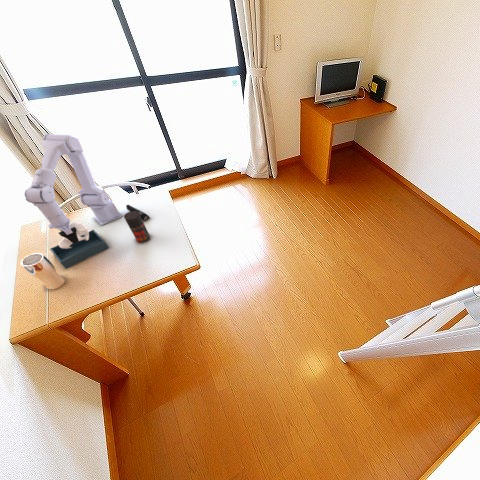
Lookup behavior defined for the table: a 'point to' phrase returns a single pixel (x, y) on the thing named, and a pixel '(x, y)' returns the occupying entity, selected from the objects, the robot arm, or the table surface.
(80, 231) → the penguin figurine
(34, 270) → the beige tall cylinder
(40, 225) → the table surface
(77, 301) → the table surface
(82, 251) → the bin
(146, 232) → the deodorant
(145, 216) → the electric trimmer
